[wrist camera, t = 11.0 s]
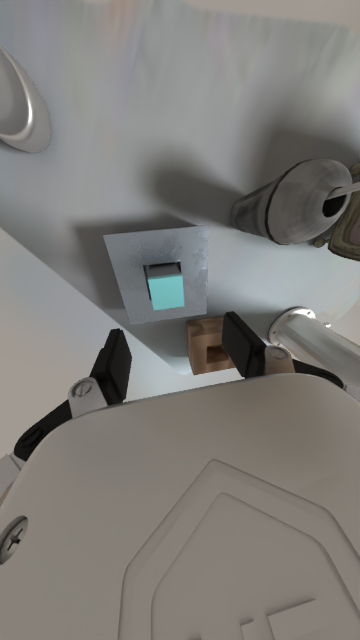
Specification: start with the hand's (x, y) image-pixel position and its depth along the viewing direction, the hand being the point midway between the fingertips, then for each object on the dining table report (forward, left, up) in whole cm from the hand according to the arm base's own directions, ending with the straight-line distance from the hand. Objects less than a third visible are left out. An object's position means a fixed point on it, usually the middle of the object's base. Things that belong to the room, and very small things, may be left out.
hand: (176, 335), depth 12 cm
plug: (0, 0, -19) cm, 19 cm away
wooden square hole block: (-10, +18, -20) cm, 29 cm away
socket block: (0, 0, -20) cm, 20 cm away
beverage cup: (-15, -8, -20) cm, 26 cm away
